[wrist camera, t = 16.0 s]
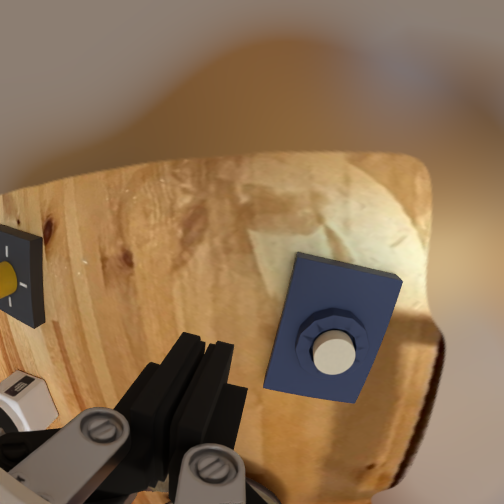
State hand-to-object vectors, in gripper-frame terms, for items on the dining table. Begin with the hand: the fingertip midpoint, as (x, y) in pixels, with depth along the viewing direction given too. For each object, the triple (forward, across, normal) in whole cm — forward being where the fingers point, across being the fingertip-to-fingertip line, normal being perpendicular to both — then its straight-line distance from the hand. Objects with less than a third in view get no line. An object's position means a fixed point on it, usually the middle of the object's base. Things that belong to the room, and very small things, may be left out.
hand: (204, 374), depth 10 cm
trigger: (+16, -8, +7) cm, 19 cm away
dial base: (+20, +32, +10) cm, 39 cm away
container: (+20, +32, +32) cm, 50 cm away
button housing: (+20, -8, +7) cm, 22 cm away
